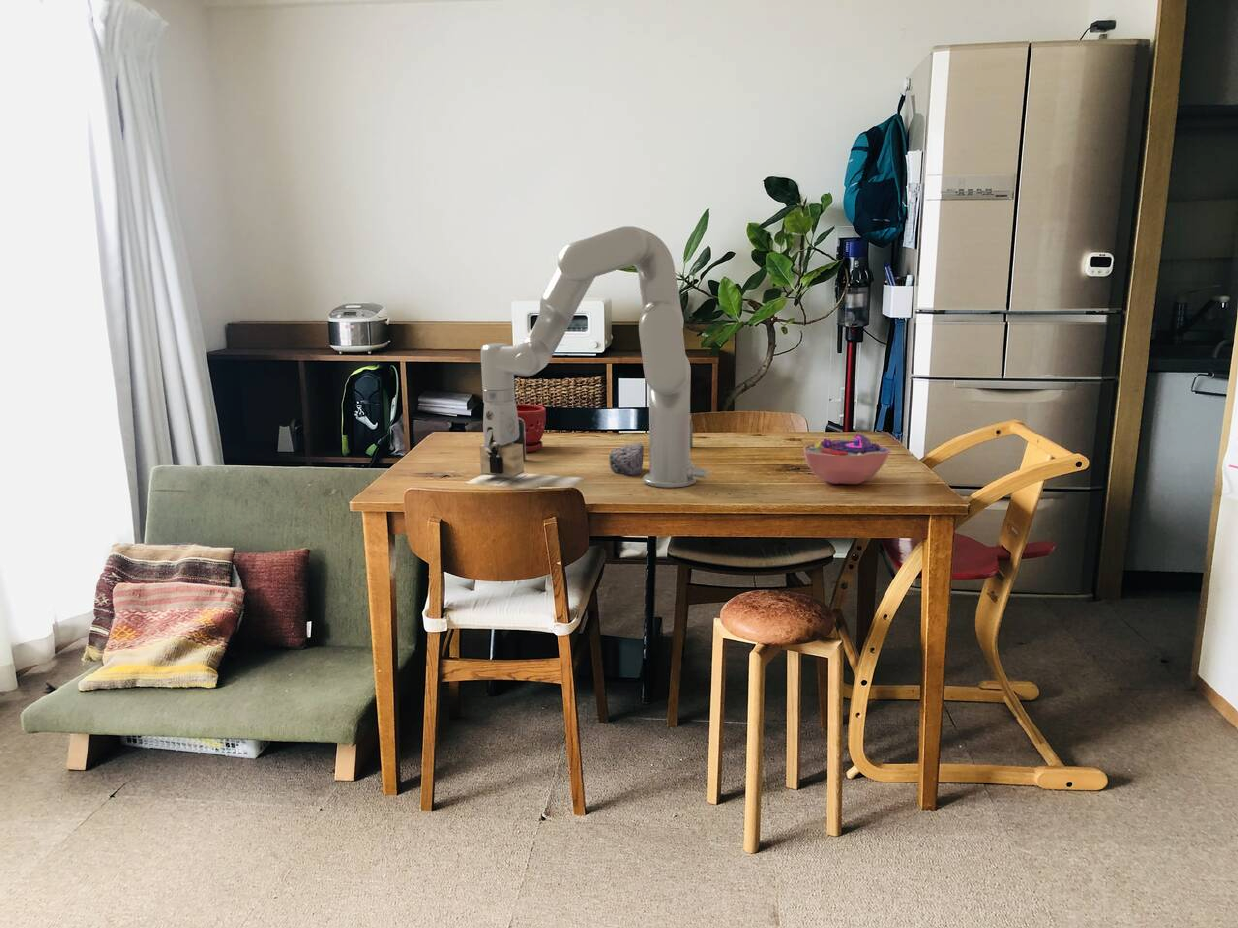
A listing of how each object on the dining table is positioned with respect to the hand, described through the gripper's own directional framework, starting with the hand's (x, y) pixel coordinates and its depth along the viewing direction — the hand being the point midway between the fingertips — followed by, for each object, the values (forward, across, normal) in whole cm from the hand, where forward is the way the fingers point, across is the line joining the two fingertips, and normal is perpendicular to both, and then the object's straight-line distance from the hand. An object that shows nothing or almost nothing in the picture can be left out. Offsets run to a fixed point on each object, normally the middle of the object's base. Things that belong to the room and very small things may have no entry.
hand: (502, 469), depth 228 cm
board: (+2, 0, -6) cm, 7 cm away
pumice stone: (+3, +16, -26) cm, 31 cm away
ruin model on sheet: (+3, +47, -28) cm, 55 cm away
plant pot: (+3, +32, +11) cm, 34 cm away
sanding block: (+1, 0, 0) cm, 1 cm away
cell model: (+3, +22, -78) cm, 81 cm away
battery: (+3, +18, +7) cm, 19 cm away
